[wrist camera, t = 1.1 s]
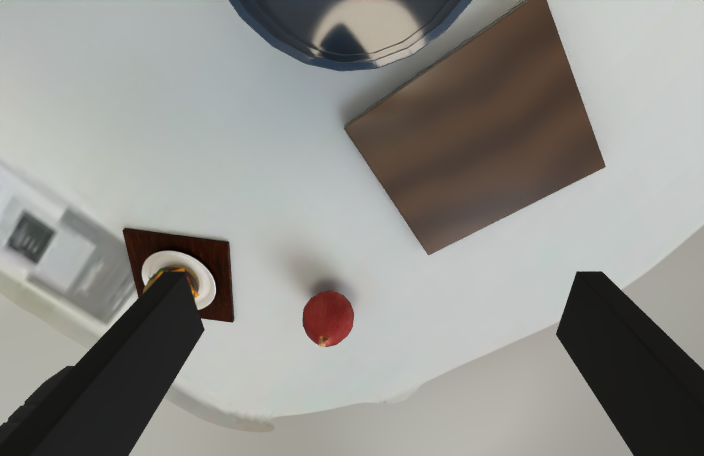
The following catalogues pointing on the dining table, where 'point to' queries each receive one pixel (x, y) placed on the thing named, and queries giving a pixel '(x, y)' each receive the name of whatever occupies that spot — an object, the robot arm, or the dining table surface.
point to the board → (481, 130)
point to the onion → (328, 318)
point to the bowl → (349, 28)
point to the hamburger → (185, 268)
